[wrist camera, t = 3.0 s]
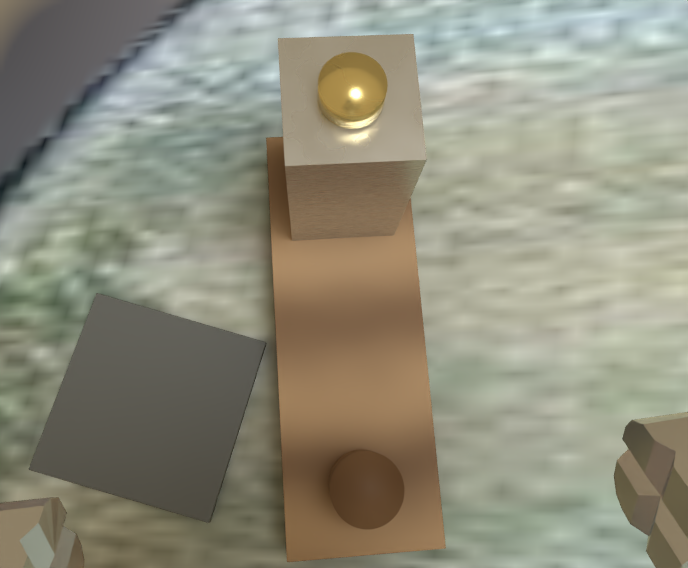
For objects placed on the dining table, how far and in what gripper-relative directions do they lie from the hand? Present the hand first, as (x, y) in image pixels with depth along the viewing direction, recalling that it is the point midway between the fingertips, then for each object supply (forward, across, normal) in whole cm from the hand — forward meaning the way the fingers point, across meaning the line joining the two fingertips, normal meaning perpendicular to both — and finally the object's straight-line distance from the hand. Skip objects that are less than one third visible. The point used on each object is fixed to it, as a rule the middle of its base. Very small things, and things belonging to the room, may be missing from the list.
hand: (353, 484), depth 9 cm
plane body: (+20, -2, +13) cm, 24 cm away
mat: (+18, +8, +14) cm, 25 cm away
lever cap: (+23, -2, +6) cm, 24 cm away
